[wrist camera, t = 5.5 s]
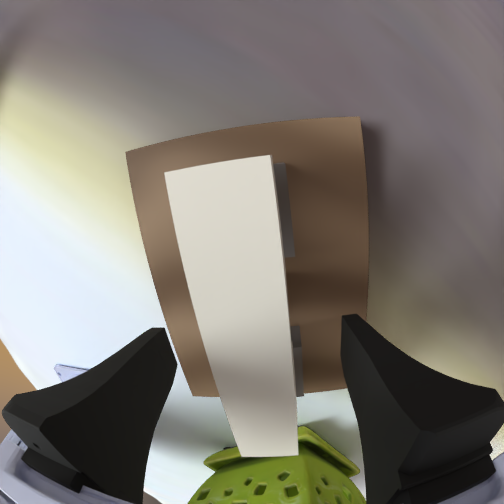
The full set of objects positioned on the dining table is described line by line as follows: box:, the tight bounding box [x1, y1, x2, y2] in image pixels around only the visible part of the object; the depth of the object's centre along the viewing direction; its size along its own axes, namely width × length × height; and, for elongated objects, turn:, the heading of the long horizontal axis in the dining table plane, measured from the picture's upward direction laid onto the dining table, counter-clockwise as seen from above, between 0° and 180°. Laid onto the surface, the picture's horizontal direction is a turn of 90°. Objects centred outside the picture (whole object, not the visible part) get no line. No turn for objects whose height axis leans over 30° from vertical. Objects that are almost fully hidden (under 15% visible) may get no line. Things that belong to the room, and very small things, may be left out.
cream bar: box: [164, 155, 298, 457], centre depth 12 cm, size 14×3×4 cm, turn 8°
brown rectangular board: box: [126, 117, 369, 397], centre depth 14 cm, size 17×12×5 cm
